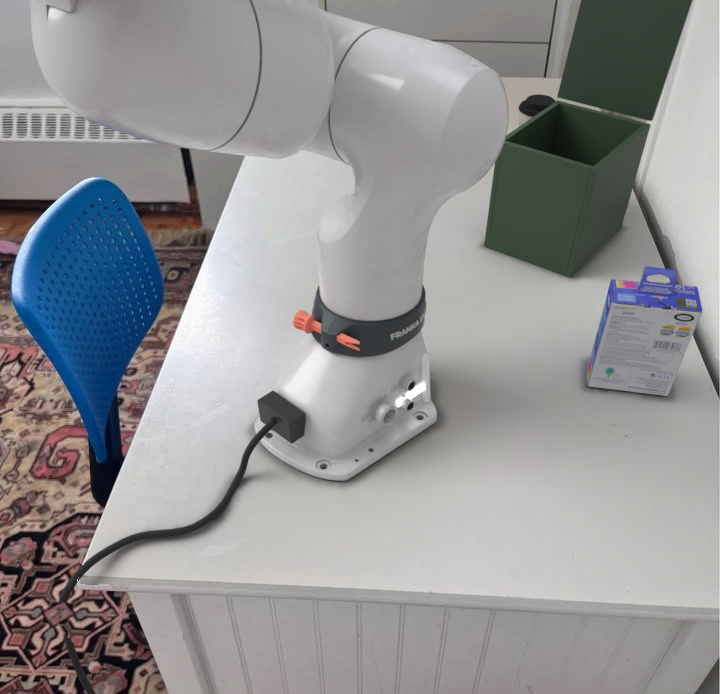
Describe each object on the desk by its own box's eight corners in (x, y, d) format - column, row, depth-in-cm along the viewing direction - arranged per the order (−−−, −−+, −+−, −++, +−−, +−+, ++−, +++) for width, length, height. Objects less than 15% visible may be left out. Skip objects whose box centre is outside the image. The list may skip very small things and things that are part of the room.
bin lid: (704, -40, 89) (706, -40, 89) (594, -57, 95) (597, -56, 95) (650, 121, 101) (652, 120, 101) (556, 97, 107) (559, 96, 107)
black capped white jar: (503, 159, 129) (511, 101, 122) (524, 146, 133) (533, 88, 125) (537, 171, 126) (547, 111, 119) (557, 157, 130) (568, 98, 122)
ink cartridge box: (666, 369, 90) (707, 266, 79) (670, 398, 86) (713, 295, 76) (586, 359, 91) (615, 257, 81) (586, 388, 88) (616, 285, 77)
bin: (570, 277, 104) (596, 170, 92) (483, 246, 110) (497, 141, 98) (621, 228, 113) (651, 124, 101) (538, 201, 119) (557, 100, 107)
